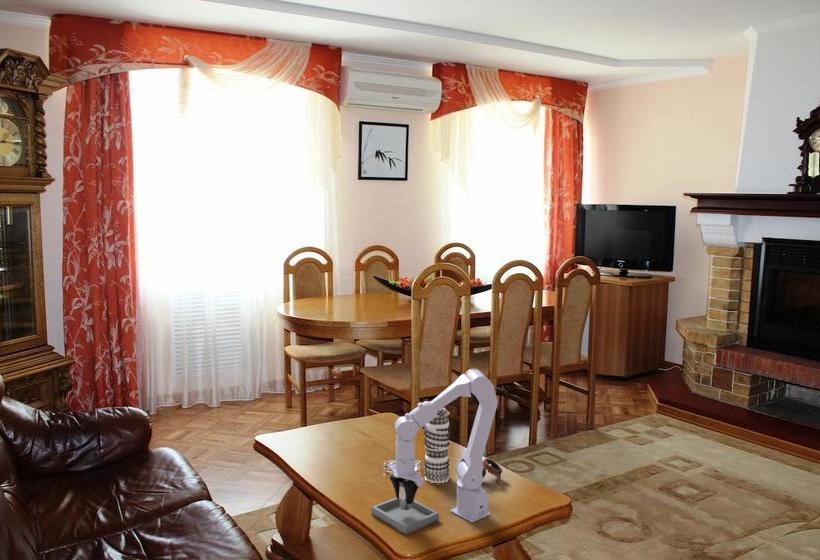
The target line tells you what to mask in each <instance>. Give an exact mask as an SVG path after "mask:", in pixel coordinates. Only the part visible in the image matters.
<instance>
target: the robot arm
mask: <svg viewBox="0 0 820 560" xmlns="http://www.w3.org/2000/svg"><path fill="white" fill-rule="evenodd" d="M471 394H472V395H474V396H475V397H476V399H477V401H478V402H479V405H478V408H477V411H476V415H475V417H474V421H473V424H472V429H471V433H470V435H469V440H468V443H467V446H466V450H465V451H464V452H463V453H462V454H461V457H460V459H459V460H458V462H457V463H456V465H455V472H456V474H457V476H458V480H457V481H456V507H453V508H452V509H451V508H450V512H451V513H452V514H455V515H456V516H458V517H461V518H462V519H464V520H466V521H468V522H470V523H475V522H477V521H479V520H481V519H483V518H485V517H488V516H490V515H491V514H490V512H489V494H488V492H487V491H485V490H484V488H483V487H482V484H483V480H484V478H483V476H482V471H483V461H484V459H483V457H484V453H485V449H486V446H487V442H488V439H489V436H490V432H491V429H492V425H493V422H494V417H495V414H496V410H497V408H498V402H499V401H498V398H497V395H496V391H495V385H494V384H493V382H492V381H490V379H489V378H488V376H487V377H486V376H485V375H484V373H483V372H482V371H481V370H479V369H477V368H471V369H468V370H466V372H465V373H463V374H461V375H459V376H458V378H457V379H456V380H455V381H454V382H453V383H451V384H450V385H449V386H448V387H446V388H445V389H444V390H443V391H442V392H441V393H439V394H438V395H437V396H436V397H435V398H433V399H432V400H430V401H427V400H425V401H423V402H422V401H421V402H418V403H417V407H415V408H414V409H412V410H411V411H409V413H408V412H406V413H405V414H404V416H399V417H398V418H397V419H396V420H395V422H394V425H393V427H394V430H395V432H396V437H395V463H393V462H391V463H388V464H387V472H392V474H390V475H389V476H388V477H389V480H390V481H391V484H392V486H393V488H394V492H395V496H396V497H397V499H399V481H400V480H401V479H408V481H407V482H404V483H403V486H404V489H405V494H406V503H407V504H411V503H413V501H414V500H415V497H416V493H417V491H418V488H419V487H420V486H423V485H424V482H425V480H424V478H425V477H424V478H423V477H422V476H421V475H420V474H419V473H418V472H417V471H416V468H415V467H416V465H415V464H416V463H415V462H416V457H415V456H416V442H415V438H416V436H417V434H418V431H420V430H421V429H423V428H424V427H425V425H426V424H428V423H429V422H430V421H432V420H433V419H434V418H436V416H437V412H438V410H440V409H441V408H443V407H444V408H445V407H446V406H447V405H449V404H450V403H452V402H453V401H455V400H456V399H458V398H459V397H466V398H472V395H471ZM396 497H395V498H396Z"/></svg>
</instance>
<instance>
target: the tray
mask: <svg viewBox="0 0 820 560" xmlns="http://www.w3.org/2000/svg"><path fill="white" fill-rule="evenodd" d="M371 515H372V516H374V517H375V518H377V519H378V520H380V521H381V522H384V523H385V524H387V525H388V526H390V527H392V528H394V530H396V531H398V532H400V533H402V534H403V535H405V536H407V535H409V534H411V533H413V532H416V531H418V530H420V529H423V528H425V527H428V526H430V525H432V524H435V523H437V522H439V521H440V512H438V511H436V510H434V509H432V508H430V507H429V506H427V505H425V504H423V503H421V502H419V501H417V500H415V499H414V501H413V503H412V508H411V509H410V510H402V509H400V508H399V499H397V497H394V498H391V499H389V500H386V501H383V502H381V503H378V504H375V505H373V506H371Z"/></svg>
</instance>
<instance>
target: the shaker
mask: <svg viewBox="0 0 820 560" xmlns="http://www.w3.org/2000/svg"><path fill="white" fill-rule="evenodd" d="M407 481H408V479H401V480H400V481H399V508H400V509H402V510H410V509H411V508H412V503H411V504H407V503H406V494H405V489H404V486H403V483H404V482H407Z"/></svg>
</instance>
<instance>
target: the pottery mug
mask: <svg viewBox="0 0 820 560" xmlns="http://www.w3.org/2000/svg"><path fill="white" fill-rule="evenodd" d="M487 473H489V474H491V475H493V476H494V477H496V481H495V484H499V482H501V478H502V473H503V469H502V468H501V466H500V465H499V464H497V462H495V461H494V460H492V459H490V458H484V459H483V471H482V476H483V479H484V478H485V476H486V475H487Z"/></svg>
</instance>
